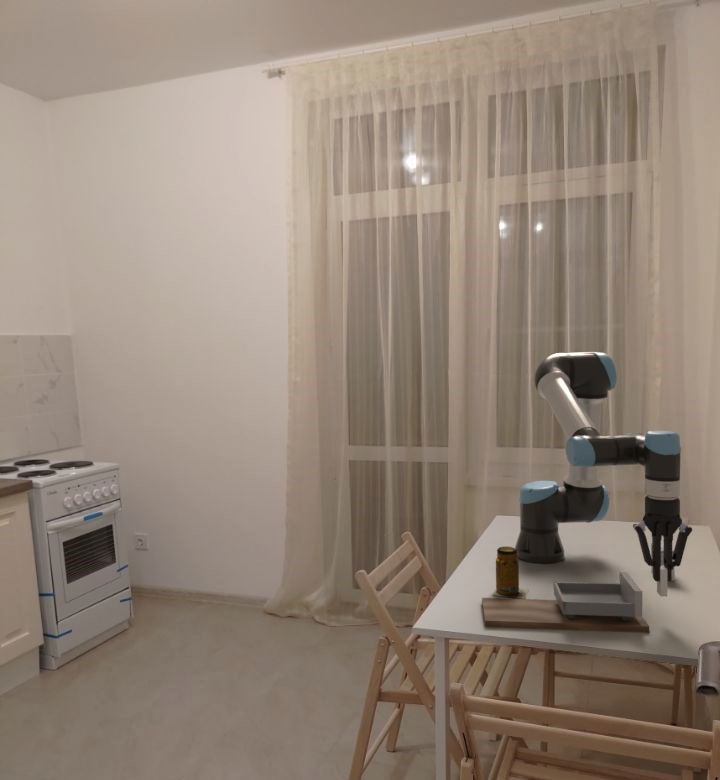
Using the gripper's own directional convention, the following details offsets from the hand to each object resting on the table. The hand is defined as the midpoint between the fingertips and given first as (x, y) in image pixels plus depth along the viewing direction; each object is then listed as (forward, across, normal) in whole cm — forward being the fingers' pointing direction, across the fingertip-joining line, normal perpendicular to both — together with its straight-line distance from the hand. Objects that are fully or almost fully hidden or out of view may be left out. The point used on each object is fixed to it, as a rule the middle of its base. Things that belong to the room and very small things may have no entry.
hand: (662, 594), depth 150 cm
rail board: (+6, -24, 0) cm, 24 cm away
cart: (+5, -16, 0) cm, 17 cm away
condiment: (+7, -34, +15) cm, 38 cm away
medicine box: (+7, +10, +31) cm, 33 cm away
